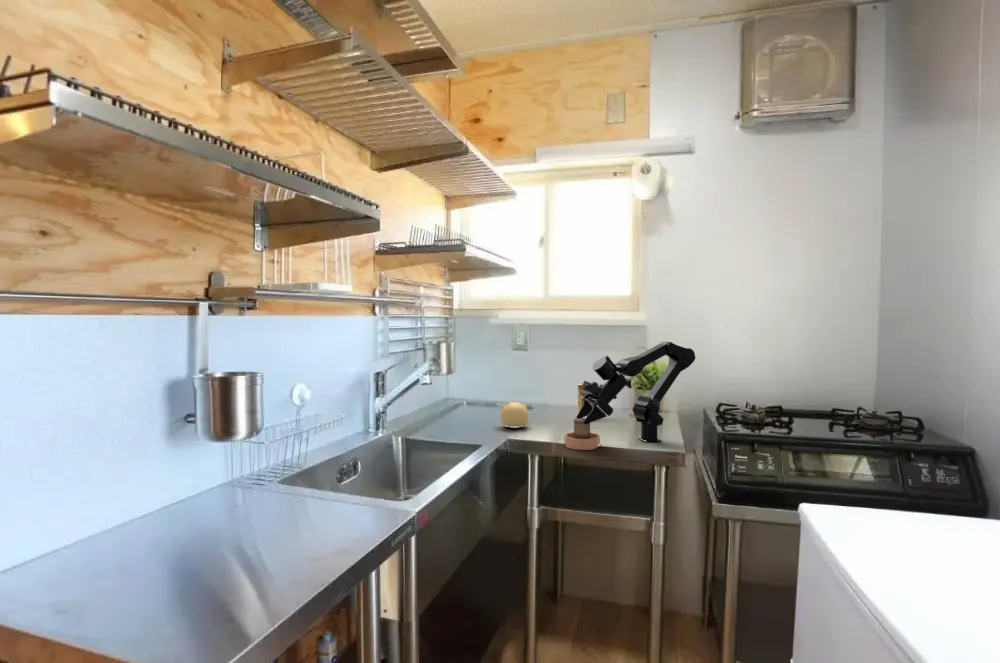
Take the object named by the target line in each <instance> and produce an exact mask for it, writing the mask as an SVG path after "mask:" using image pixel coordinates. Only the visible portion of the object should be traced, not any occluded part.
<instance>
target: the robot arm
mask: <svg viewBox="0 0 1000 663" xmlns="http://www.w3.org/2000/svg"><path fill="white" fill-rule="evenodd" d="M665 356H667V357H668V365H667V367H666V368H665V369H664V371H663V372H662V374H661V375H660V376H659V378H658V380H656V382H655V383H654V385H653V387H652V388H651V390H650V391H649V392H648V394H647V395H638V398H637V399H636V401H635V402H634V403H633V407H632V411H633V412H632V413H633V415H634V417H635V421H636V422H637V423H640V431H641V433H640V437H641V439H643V440H646V441H661V442H662V439H660V438H659V437H658V436H659V434H658V428H659V427H660V426H662V425H663V423H664V418H663V416H662V415H661V414H659V412H660V409H661V401H662V400H663V398H664V397H665V396H666V394H667V393H668V391H669V390H670V388H671V387H672V385H673V384H674V383H675V381H676V379H678V378H677V377H679V375H680V374H681V372H683V371H684V370H686V369H687V368H689V367H690V366H691V365H692V364H693V363H694V362H695V360H696V353H695V350H693V349H692V348H688V347H684V346H680V345H677V344H675V343H673V342H671V341H661V342H659V344H657V345H655V346H653V347H651V348H650V349H647V350H646V351H644V352H642V353H640V354H638V355H635V356H630V357H626V358H622V359H620V360H619V361H618V362H617V363H614V362H613V360H612V359H611V358H610V357H609V356H608V355H603V357H601V358H599V359H597V360H596V361H595V362H594V363H593V364H592V370H593V371H594V372H595V373H596V374H597V375H598V377H600V378H601V380H602V381H606V382H605V383H603V384H599V383H598V382H596V381H592V382H589V381H586V380H583V383H582V384H583V385H582V387H581V389H583V390H585V391H587V392H588V391H589V392H591V393H589V392H588V393H585V394H584V395H583V398H582V399H583V405H582V408H581V409H580V411H579V413H578V412H577V415H576V416H575V419H578V418H583V417H585V416H586V415H588V414H589V415H588V416H587V417H586V419H585V420H584V422H583V423H584V424H585V425H586V424H589V423H590V424H591V423H593V422H596V421H598V420H601V419H604V418H607V417H610V416H612V414H613V413H614V408H613V407H612V406H611V405H610V403H611V402H612V401H613V400H616V399H618V395H619V393H620V392H621V391H623V389H624V388H625V387H627V388H628V389H632V380H631V379H629V378H628V379H627V378H626V377H631V378H635V377H636V376H638V375H639V374H640V373H642V371H643V370H644V368H646V366H648V365H650V364H653V363H654V362H656V361H657V360H659V359H661V358H663V357H665ZM658 426H659V427H658Z"/></svg>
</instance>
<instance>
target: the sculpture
mask: <svg viewBox="0 0 1000 663" xmlns="http://www.w3.org/2000/svg"><path fill="white" fill-rule="evenodd" d="M499 413H500V421H501V424H502V426H503V425H508V426H522V425H526V424H528V423H529V419H530V418H529V411H528V404H526V403H523V402H520V401H511V402H506V403H503V404H501V405H500V412H499ZM526 426H527V425H526Z"/></svg>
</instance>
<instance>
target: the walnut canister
mask: <svg viewBox="0 0 1000 663" xmlns="http://www.w3.org/2000/svg"><path fill="white" fill-rule="evenodd" d="M584 420H585V418H578V419H577V418H575V419H573V432H574V438H575V439H590V432H591V423H589V424H586V425H585V424H584V423H583V422H584Z"/></svg>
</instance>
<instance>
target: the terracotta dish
mask: <svg viewBox="0 0 1000 663" xmlns="http://www.w3.org/2000/svg"><path fill="white" fill-rule="evenodd" d="M564 442H565V444H566V447H565V448H567V449H571V450H581V451H586V450H587V451H591V450H596V449H597V448H596V447H597V446H598V445H599V444H600V445H601V435H599V434H598V433H594V432H591V431H590V439H575V438H574V431H573V432H567V433H565V434H563V443H564ZM595 448H596V449H595Z"/></svg>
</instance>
